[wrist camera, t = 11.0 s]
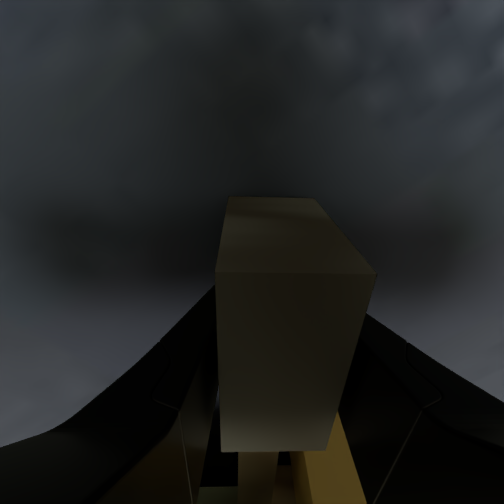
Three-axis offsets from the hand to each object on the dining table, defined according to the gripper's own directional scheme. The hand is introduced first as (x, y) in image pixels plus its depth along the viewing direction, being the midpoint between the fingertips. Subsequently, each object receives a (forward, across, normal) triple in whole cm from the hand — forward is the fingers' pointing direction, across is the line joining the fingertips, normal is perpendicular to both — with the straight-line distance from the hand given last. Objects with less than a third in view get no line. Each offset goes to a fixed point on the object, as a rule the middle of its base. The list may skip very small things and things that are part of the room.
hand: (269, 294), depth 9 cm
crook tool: (+2, -2, +7) cm, 7 cm away
